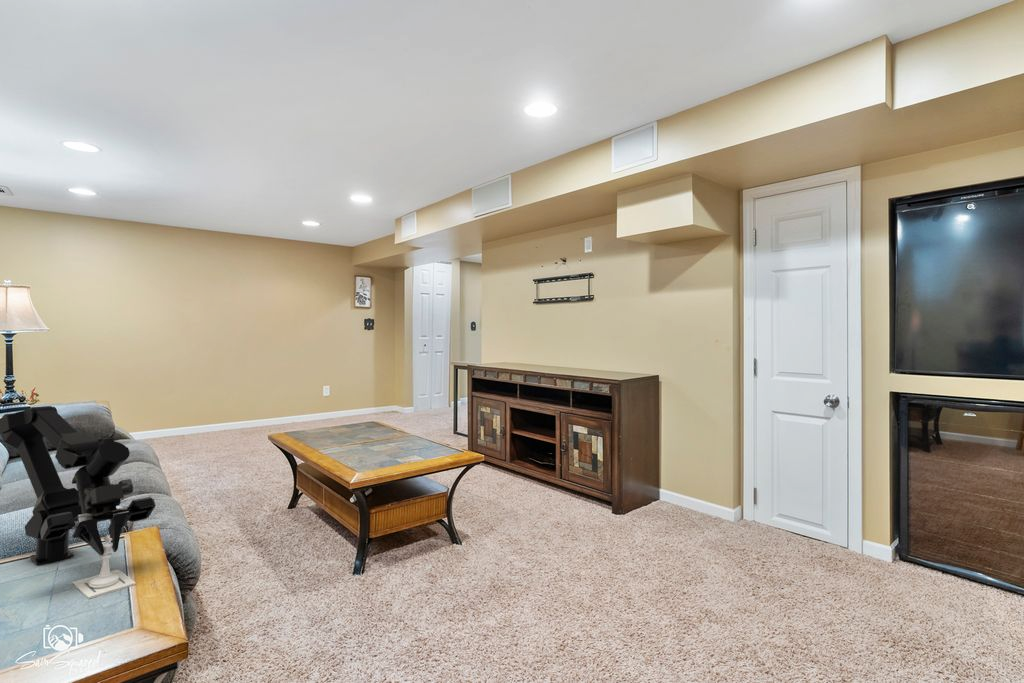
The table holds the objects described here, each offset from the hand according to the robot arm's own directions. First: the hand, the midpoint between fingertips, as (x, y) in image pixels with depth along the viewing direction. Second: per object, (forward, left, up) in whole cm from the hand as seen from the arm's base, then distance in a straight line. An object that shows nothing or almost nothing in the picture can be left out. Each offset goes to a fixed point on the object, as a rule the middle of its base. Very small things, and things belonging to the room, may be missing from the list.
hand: (109, 552), depth 105 cm
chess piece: (-1, 0, -7) cm, 7 cm away
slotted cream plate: (-2, 0, -7) cm, 8 cm away
